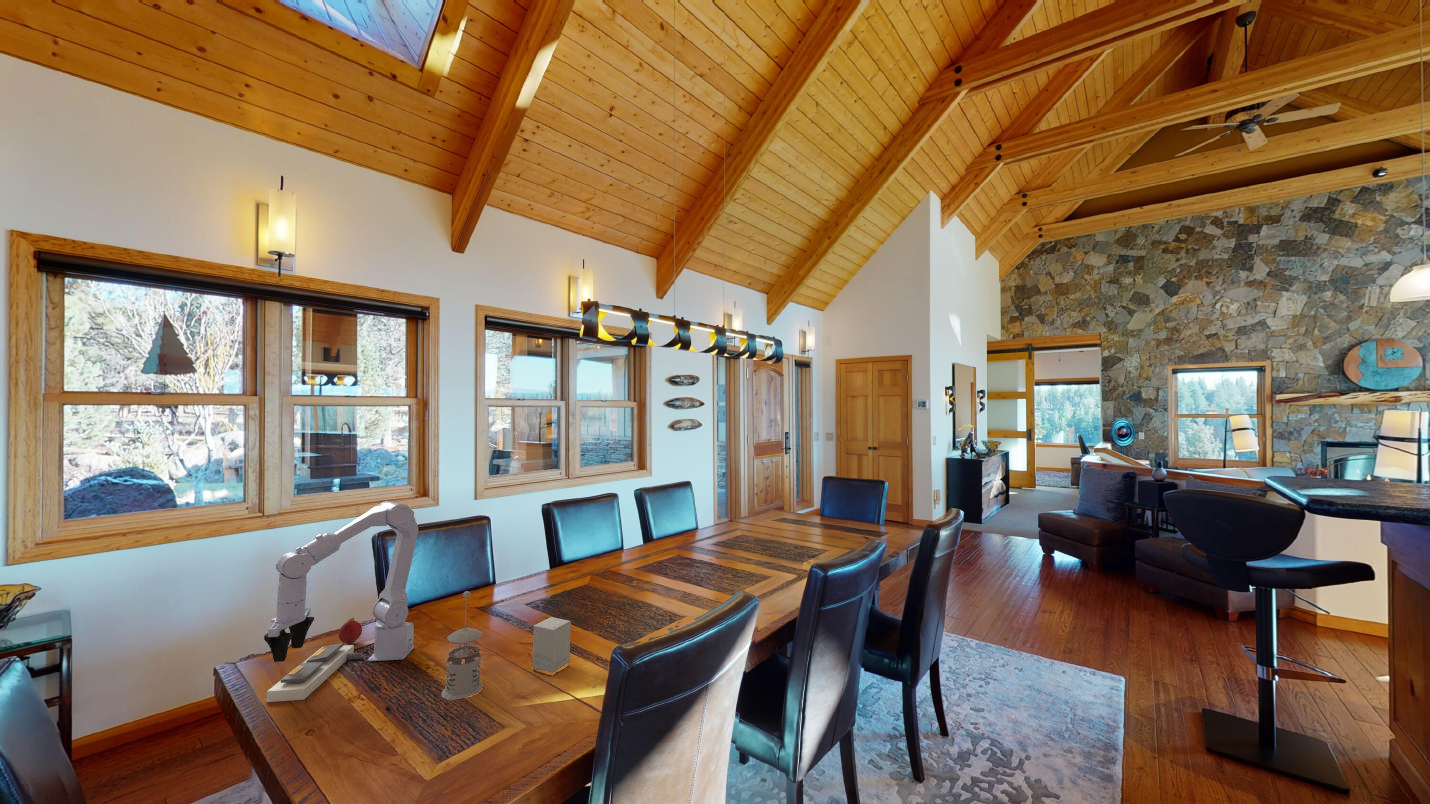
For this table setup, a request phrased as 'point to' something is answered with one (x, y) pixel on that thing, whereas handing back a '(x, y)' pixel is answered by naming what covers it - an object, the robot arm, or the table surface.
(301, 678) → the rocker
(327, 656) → the rocker
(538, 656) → the supplement box
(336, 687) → the table surface
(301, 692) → the rocker switch panel
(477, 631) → the french press
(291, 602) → the robot arm
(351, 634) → the onion
